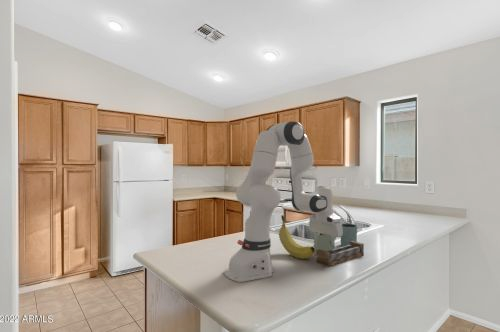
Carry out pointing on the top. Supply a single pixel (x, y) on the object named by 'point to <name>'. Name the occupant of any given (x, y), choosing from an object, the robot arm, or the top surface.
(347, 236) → the grey-green cup
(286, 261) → the top surface
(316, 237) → the door panel
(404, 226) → the top surface
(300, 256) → the banana
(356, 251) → the track base
